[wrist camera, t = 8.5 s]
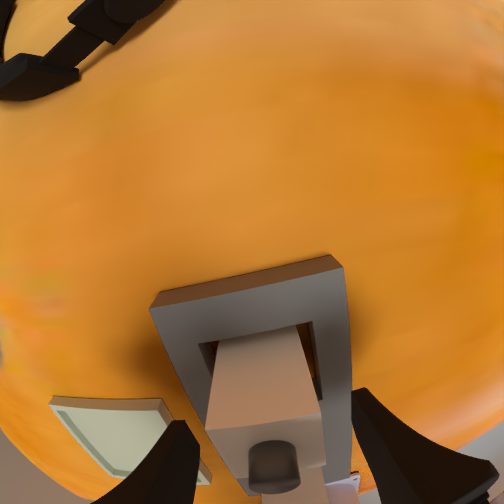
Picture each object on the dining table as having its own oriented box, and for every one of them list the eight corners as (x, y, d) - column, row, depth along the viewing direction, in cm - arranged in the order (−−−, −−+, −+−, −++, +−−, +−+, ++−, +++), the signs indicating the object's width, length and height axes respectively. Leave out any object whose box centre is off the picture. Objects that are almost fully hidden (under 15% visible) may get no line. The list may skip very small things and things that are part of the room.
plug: (302, 371, 16) (333, 493, 8) (238, 383, 16) (234, 507, 8) (293, 316, 15) (330, 447, 6) (220, 330, 15) (199, 465, 7)
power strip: (345, 461, 19) (366, 535, 11) (248, 479, 19) (248, 555, 11) (331, 254, 14) (421, 352, 6) (160, 292, 14) (84, 406, 6)
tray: (212, 474, 19) (211, 484, 18) (114, 468, 20) (111, 476, 19) (161, 398, 16) (157, 410, 15) (54, 395, 17) (48, 404, 16)
